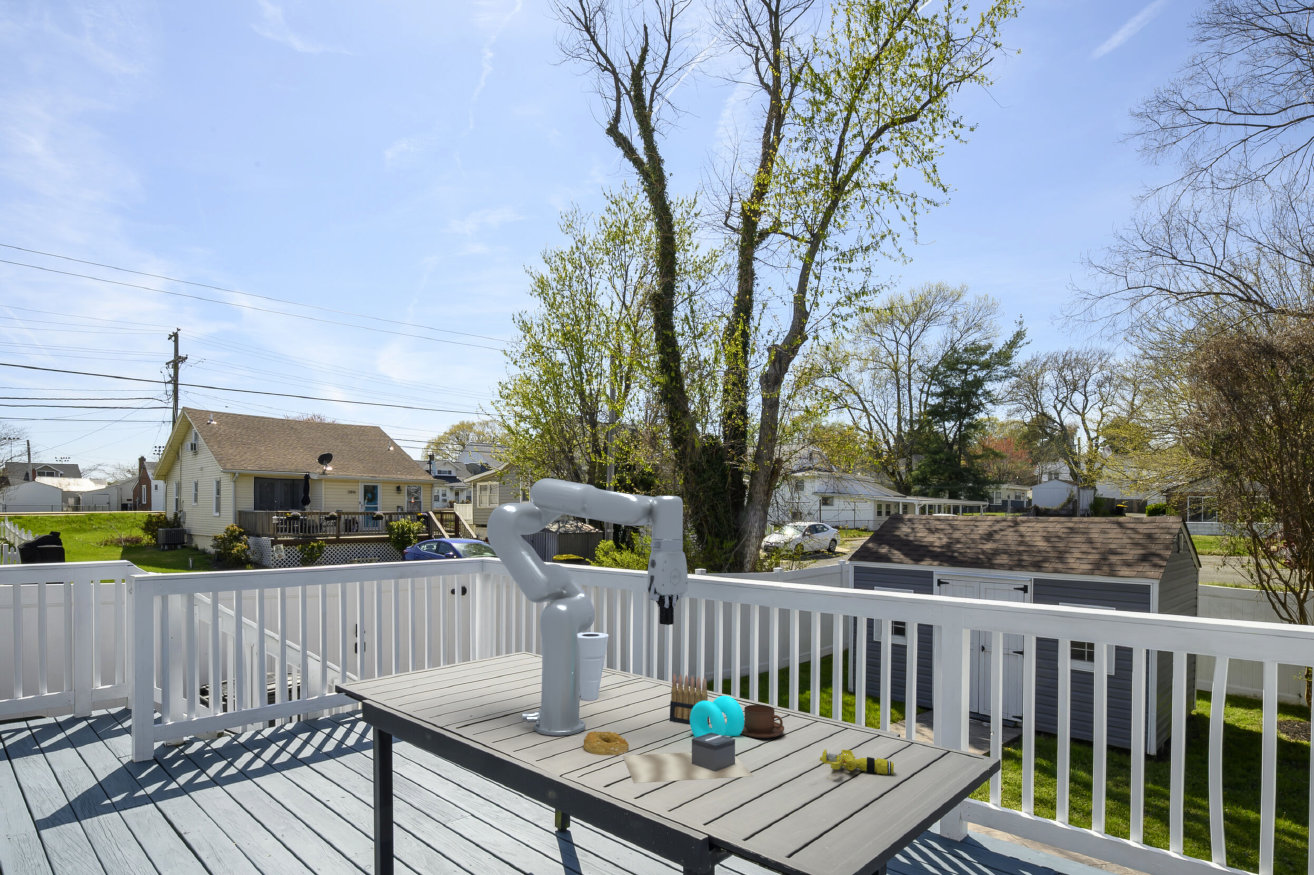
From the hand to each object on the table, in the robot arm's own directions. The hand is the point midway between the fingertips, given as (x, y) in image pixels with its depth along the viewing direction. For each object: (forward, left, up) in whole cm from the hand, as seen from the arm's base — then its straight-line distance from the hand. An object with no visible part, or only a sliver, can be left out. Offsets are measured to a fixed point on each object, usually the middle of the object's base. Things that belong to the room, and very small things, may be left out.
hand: (666, 623), depth 170 cm
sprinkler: (+36, -24, -28) cm, 52 cm away
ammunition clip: (+9, +14, -27) cm, 32 cm away
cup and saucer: (+24, +3, -28) cm, 37 cm away
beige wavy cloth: (0, -21, -27) cm, 34 cm away
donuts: (+12, -2, -27) cm, 30 cm away
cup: (-14, +43, -27) cm, 53 cm away
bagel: (-15, -7, -28) cm, 32 cm away
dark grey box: (+6, -21, -26) cm, 34 cm away
